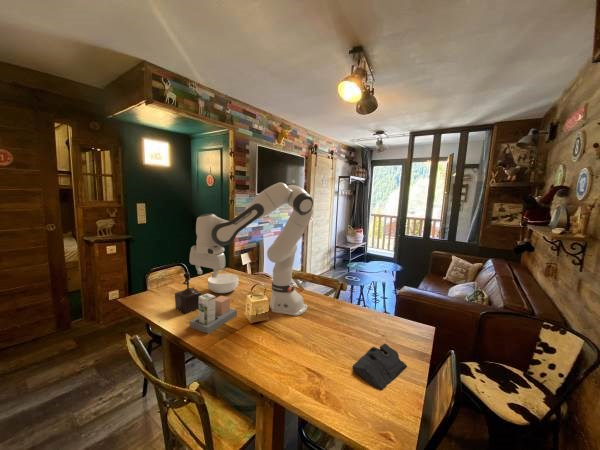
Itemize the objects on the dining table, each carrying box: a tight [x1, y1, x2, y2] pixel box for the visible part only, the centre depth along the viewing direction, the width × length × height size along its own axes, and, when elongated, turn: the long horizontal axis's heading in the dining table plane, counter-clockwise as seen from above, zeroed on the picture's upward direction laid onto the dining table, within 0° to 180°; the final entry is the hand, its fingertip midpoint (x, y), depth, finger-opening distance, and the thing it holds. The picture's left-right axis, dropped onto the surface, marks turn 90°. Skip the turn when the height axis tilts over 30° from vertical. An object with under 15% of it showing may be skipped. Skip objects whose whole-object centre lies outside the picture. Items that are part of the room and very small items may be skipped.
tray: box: [189, 295, 238, 334], centre depth 124 cm, size 20×12×10 cm, turn 154°
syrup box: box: [198, 293, 216, 326], centre depth 120 cm, size 6×6×14 cm
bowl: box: [207, 273, 239, 294], centre depth 163 cm, size 20×20×8 cm
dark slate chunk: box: [351, 343, 408, 391], centre depth 95 cm, size 15×22×5 cm
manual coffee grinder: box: [174, 272, 202, 315], centre depth 138 cm, size 16×11×18 cm
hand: (207, 275), depth 118 cm, fingers open, 8 cm apart
